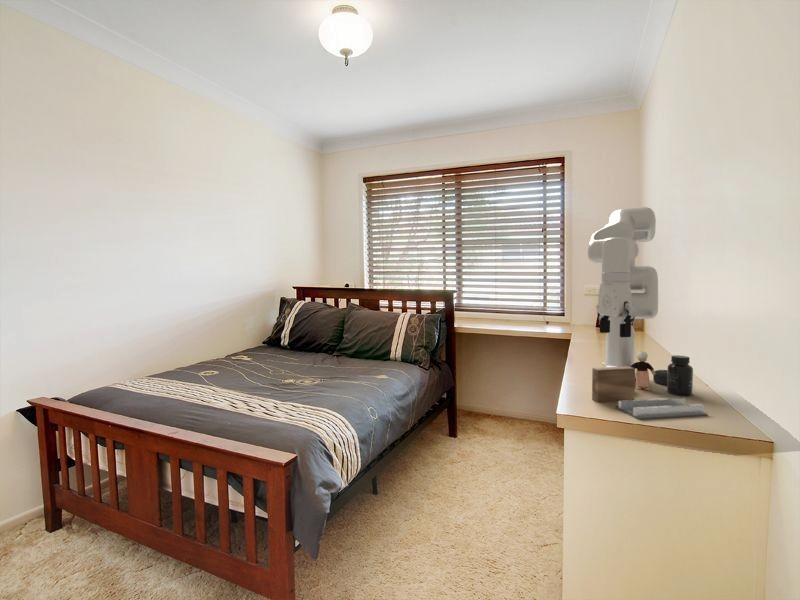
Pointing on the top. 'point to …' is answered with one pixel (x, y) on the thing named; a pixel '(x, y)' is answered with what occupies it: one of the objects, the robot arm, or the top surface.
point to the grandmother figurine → (642, 371)
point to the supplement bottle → (680, 376)
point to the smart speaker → (660, 377)
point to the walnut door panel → (613, 384)
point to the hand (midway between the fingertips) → (614, 334)
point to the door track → (660, 408)
